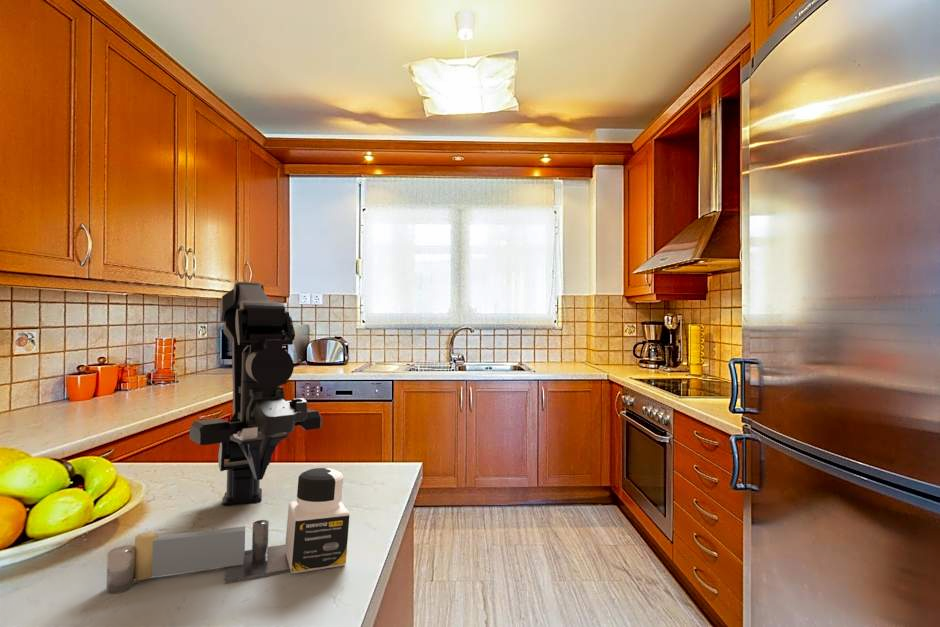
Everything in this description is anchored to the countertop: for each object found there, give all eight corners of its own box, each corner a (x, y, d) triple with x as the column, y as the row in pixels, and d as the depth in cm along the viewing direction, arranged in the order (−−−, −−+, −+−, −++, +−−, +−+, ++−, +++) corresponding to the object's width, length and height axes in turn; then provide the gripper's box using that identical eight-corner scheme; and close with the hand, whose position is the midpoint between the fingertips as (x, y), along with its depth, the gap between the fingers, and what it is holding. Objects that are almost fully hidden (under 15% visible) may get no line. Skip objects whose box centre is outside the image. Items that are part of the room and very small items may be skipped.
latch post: (109, 584, 60) (111, 547, 60) (136, 579, 61) (137, 543, 61) (103, 595, 57) (104, 557, 58) (131, 590, 59) (132, 553, 59)
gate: (244, 558, 66) (245, 521, 66) (242, 566, 64) (243, 527, 64) (137, 572, 62) (138, 533, 62) (130, 581, 60) (132, 540, 60)
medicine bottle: (290, 574, 62) (298, 480, 62) (284, 552, 68) (291, 466, 69) (346, 566, 65) (353, 476, 66) (335, 545, 71) (341, 463, 72)
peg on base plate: (228, 556, 68) (229, 516, 68) (289, 546, 71) (290, 508, 71) (224, 583, 60) (226, 539, 61) (292, 571, 63) (293, 529, 64)
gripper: (214, 390, 64) (211, 508, 64) (339, 380, 77) (337, 478, 77) (190, 383, 72) (186, 488, 72) (307, 375, 85) (305, 464, 85)
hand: (258, 479), depth 76 cm, fingers closed
